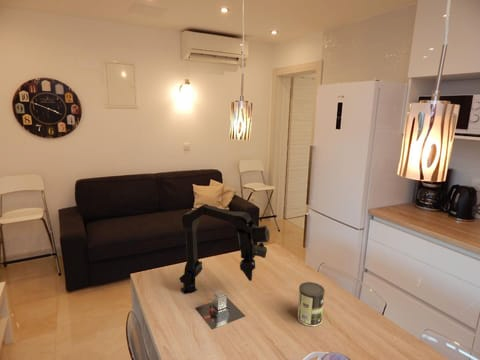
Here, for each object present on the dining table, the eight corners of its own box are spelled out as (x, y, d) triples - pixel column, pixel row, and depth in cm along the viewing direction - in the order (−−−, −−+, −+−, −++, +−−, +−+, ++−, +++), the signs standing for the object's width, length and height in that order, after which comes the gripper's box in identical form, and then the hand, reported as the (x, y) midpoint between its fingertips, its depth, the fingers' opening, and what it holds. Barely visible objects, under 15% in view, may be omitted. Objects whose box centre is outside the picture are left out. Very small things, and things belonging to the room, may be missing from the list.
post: (213, 310, 133) (213, 292, 131) (221, 307, 136) (221, 289, 134) (217, 316, 130) (217, 297, 128) (226, 313, 132) (226, 294, 130)
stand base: (194, 310, 135) (194, 302, 134) (226, 298, 144) (226, 292, 143) (211, 331, 122) (211, 324, 121) (245, 318, 131) (245, 310, 130)
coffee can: (321, 312, 135) (323, 283, 132) (322, 328, 125) (325, 297, 122) (297, 309, 137) (299, 280, 134) (296, 324, 127) (298, 293, 124)
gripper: (264, 248, 124) (269, 284, 127) (264, 232, 143) (268, 264, 145) (237, 251, 125) (242, 287, 128) (240, 235, 144) (244, 266, 146)
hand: (250, 275), depth 137 cm, fingers open, 9 cm apart
